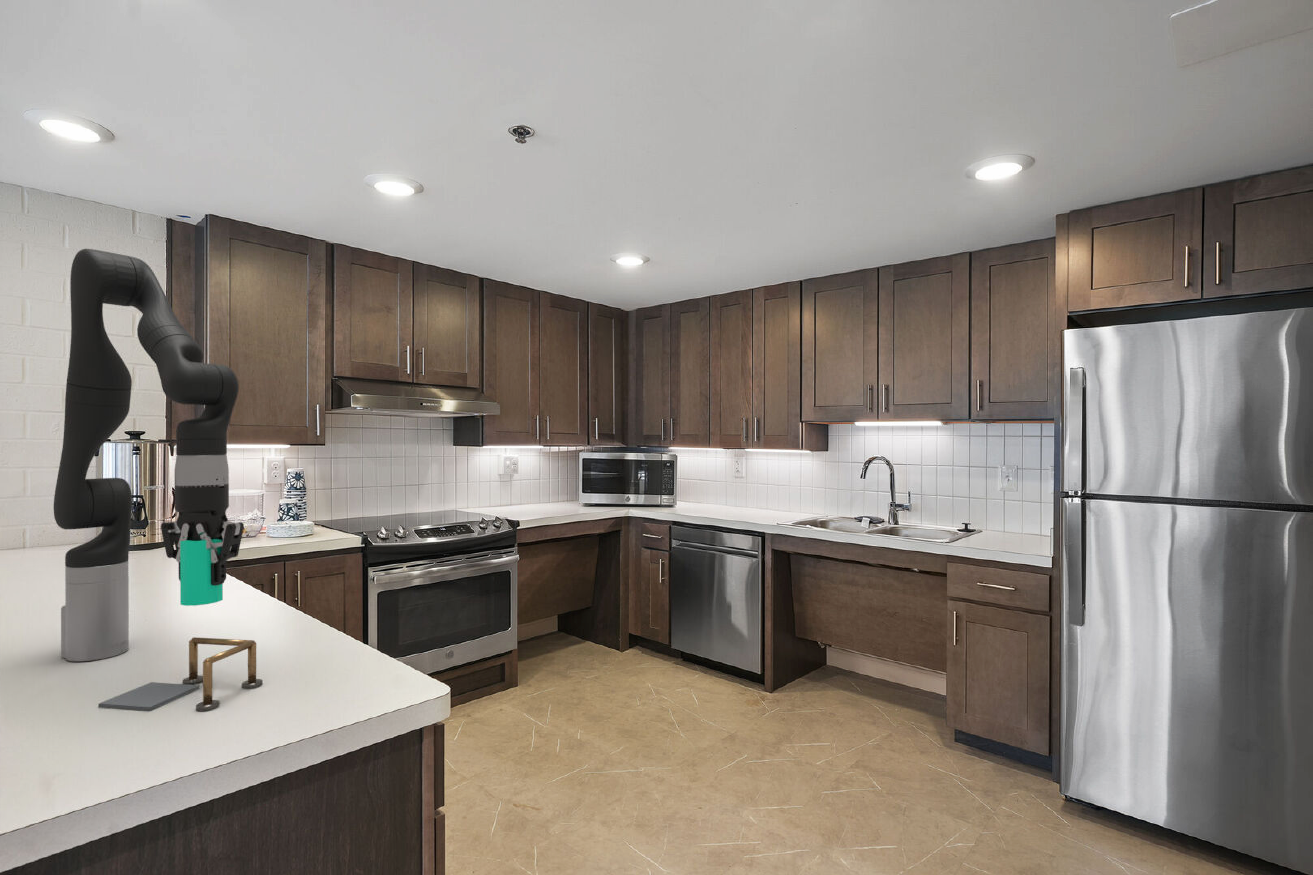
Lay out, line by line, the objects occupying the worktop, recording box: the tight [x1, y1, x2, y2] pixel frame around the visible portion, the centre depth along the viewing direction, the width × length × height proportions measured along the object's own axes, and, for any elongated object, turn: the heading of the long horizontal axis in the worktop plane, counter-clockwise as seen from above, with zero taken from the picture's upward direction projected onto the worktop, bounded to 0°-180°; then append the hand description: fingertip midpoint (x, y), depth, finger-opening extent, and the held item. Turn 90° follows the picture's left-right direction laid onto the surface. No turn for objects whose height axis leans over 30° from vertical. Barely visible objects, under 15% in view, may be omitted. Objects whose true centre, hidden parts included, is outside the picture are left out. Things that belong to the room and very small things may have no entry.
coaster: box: [97, 681, 201, 712], centre depth 106 cm, size 9×9×1 cm
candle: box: [179, 539, 224, 607], centre depth 112 cm, size 6×6×12 cm
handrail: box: [181, 637, 264, 713], centre depth 107 cm, size 14×12×8 cm
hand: (202, 583), depth 112 cm, fingers closed on candle, 5 cm apart
